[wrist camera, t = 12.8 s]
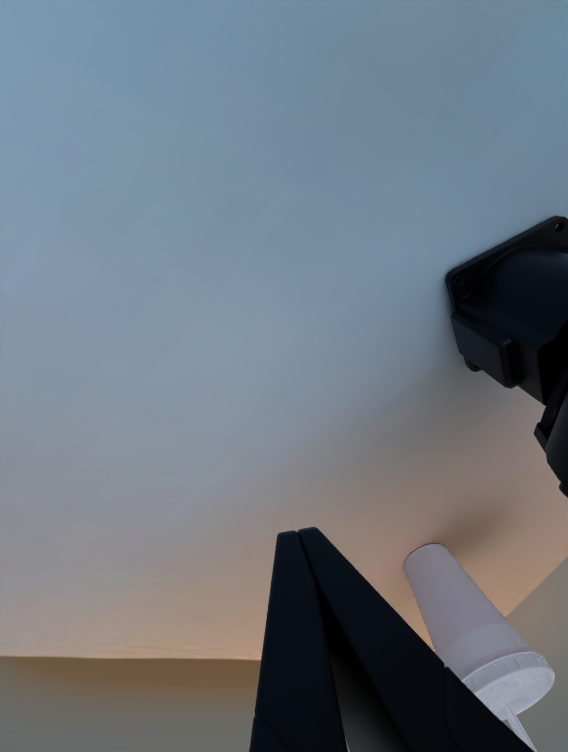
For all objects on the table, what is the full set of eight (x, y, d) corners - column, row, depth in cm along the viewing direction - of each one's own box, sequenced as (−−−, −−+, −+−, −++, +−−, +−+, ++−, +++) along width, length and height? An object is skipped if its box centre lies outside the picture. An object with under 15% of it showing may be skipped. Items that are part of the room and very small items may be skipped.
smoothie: (378, 590, 34) (487, 837, 22) (401, 533, 31) (541, 783, 19) (447, 582, 35) (584, 808, 23) (474, 528, 32) (647, 754, 20)
